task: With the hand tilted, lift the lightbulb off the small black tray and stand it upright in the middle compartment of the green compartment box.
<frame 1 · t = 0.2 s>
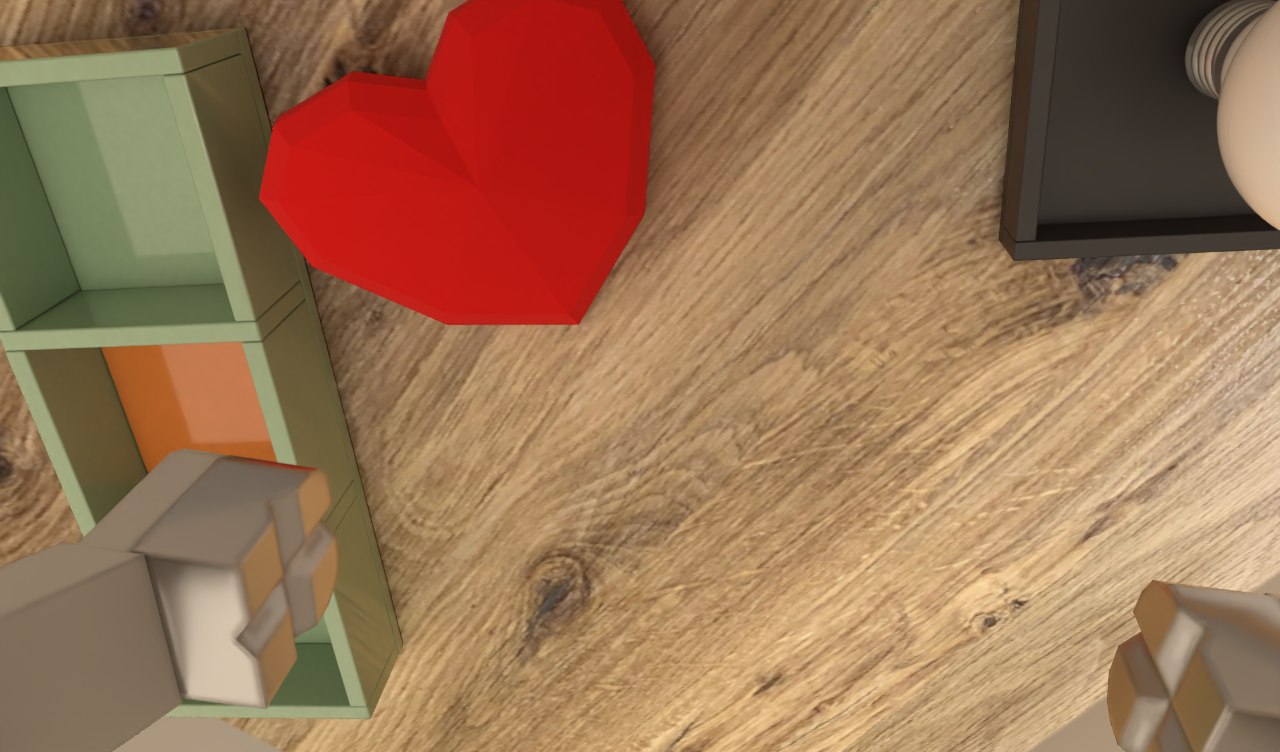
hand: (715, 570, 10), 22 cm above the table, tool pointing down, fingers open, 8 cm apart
tray: (1219, 42, 27), on the table
heart: (511, 171, 31), on the table
lightbulb: (1223, 44, 27), resting on tray
green compartment box: (224, 389, 36), on the table
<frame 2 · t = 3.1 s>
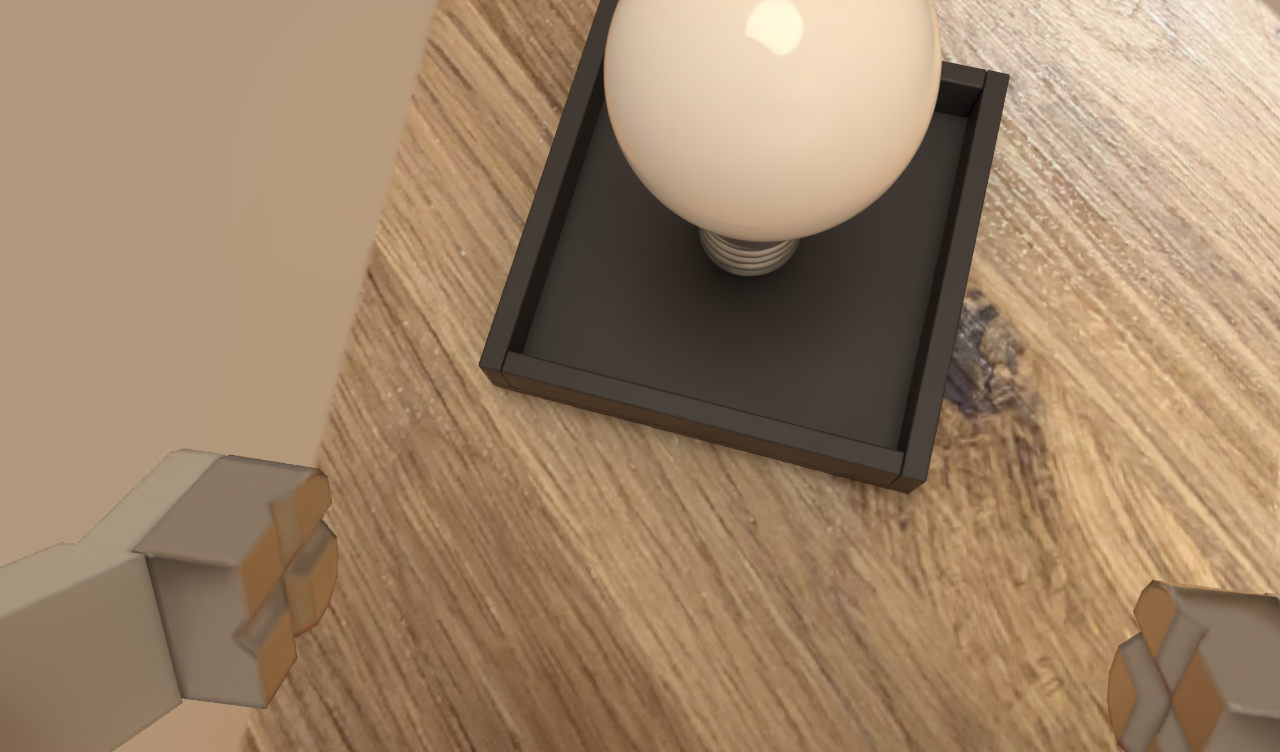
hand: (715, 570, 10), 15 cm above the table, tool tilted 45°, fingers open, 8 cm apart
tray: (747, 245, 26), on the table
lightbulb: (747, 242, 26), resting on tray
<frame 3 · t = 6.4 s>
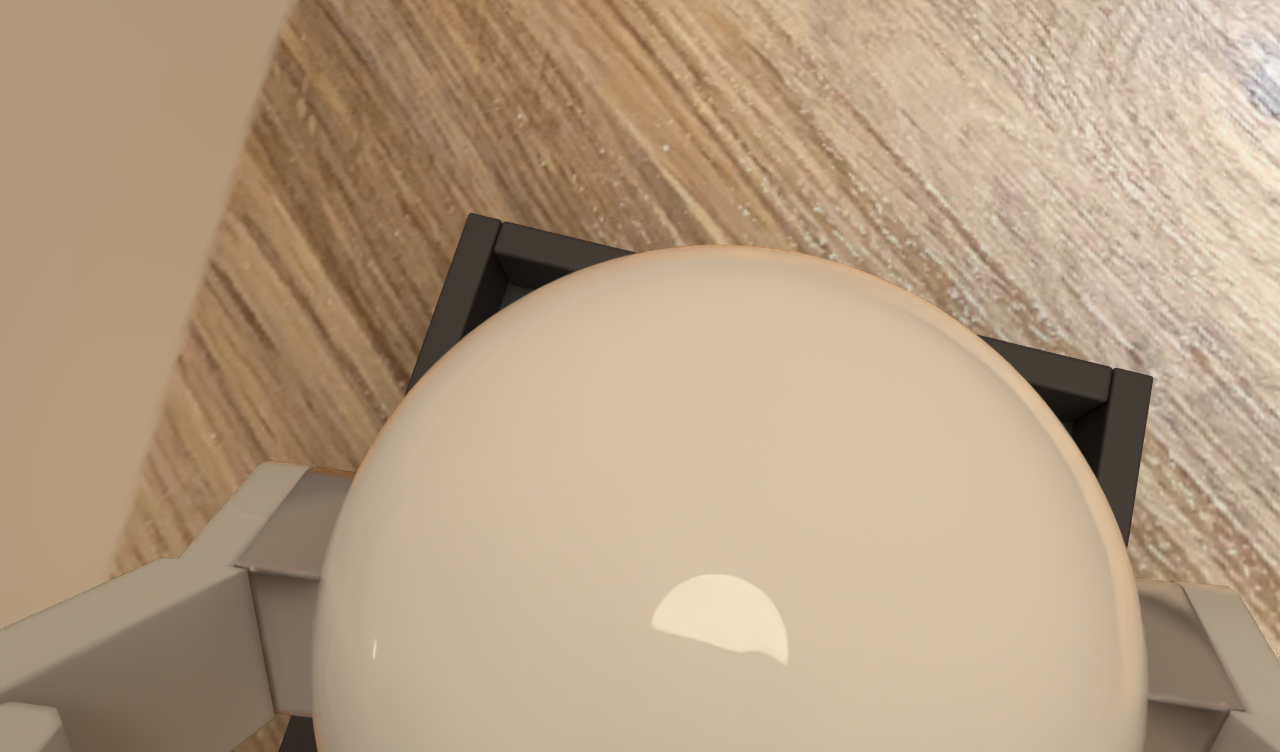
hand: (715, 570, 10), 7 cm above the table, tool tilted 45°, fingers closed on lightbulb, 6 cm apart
tray: (705, 638, 16), on the table
lightbulb: (706, 638, 16), resting on tray, touching gripper
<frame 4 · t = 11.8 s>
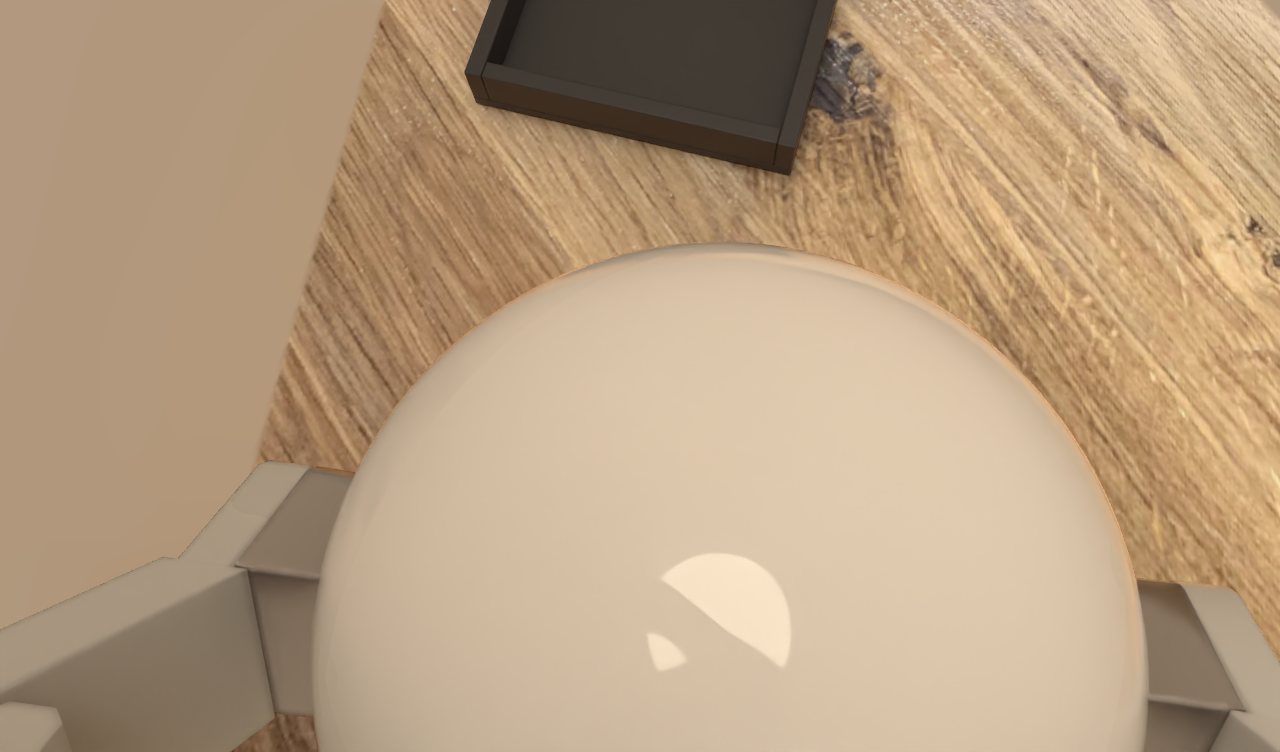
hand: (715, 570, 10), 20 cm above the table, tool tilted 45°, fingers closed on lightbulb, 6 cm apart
tray: (673, 1, 34), on the table
lightbulb: (706, 636, 16), point 13 cm above the table, touching gripper
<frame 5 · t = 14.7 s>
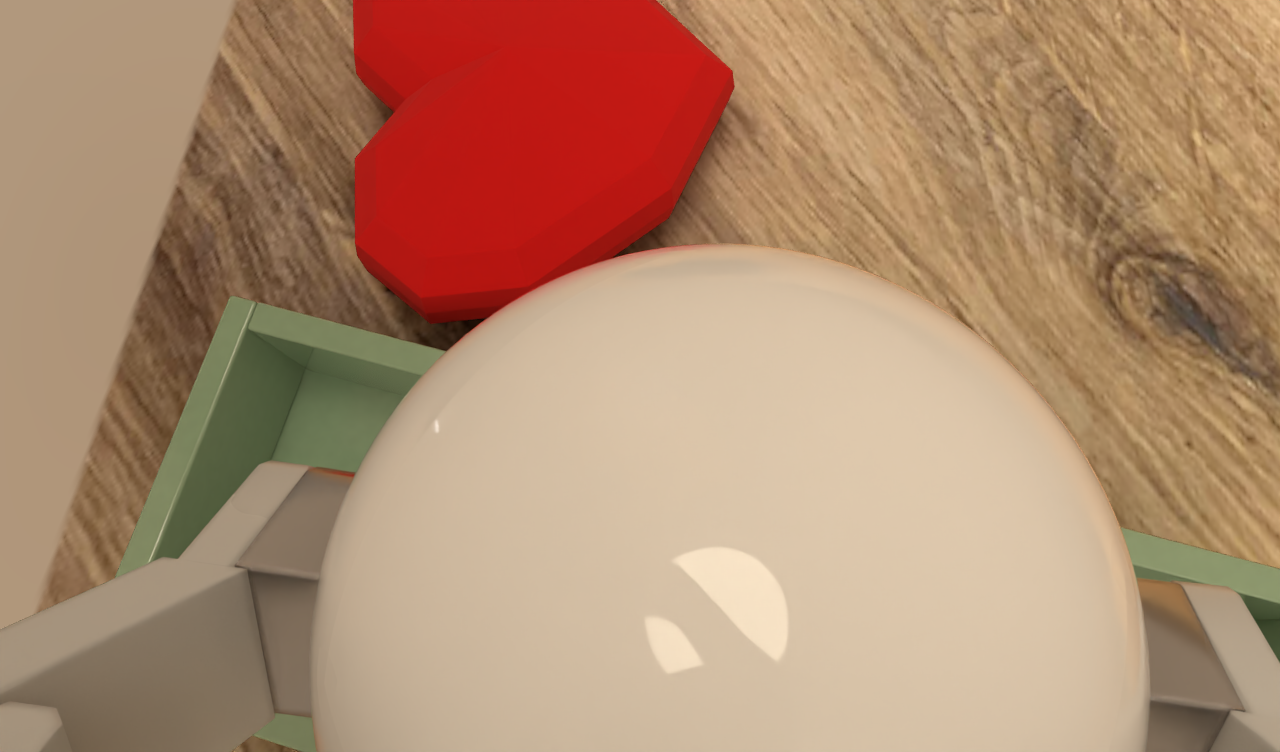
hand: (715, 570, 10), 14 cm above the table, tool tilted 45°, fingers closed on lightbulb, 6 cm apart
heart: (558, 144, 27), on the table
lightbulb: (706, 638, 16), point 8 cm above the table, touching gripper
green compartment box: (705, 637, 23), on the table
when the fingers open (7 cm above the table, at t = 17.3 s): lightbulb stays where it is, resting on green compartment box.
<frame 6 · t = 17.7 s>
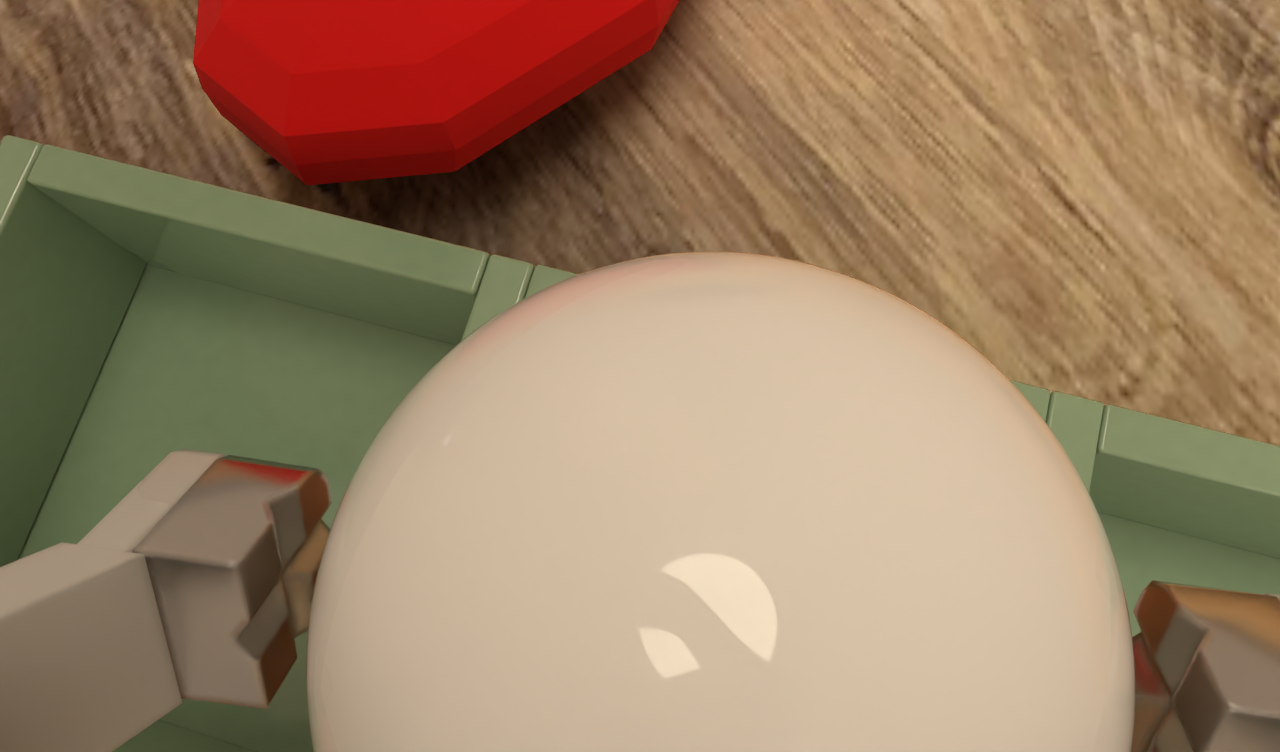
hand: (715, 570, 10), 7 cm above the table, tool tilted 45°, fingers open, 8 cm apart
lightbulb: (702, 638, 16), point 1 cm above the table, touching green compartment box
green compartment box: (703, 637, 16), on the table
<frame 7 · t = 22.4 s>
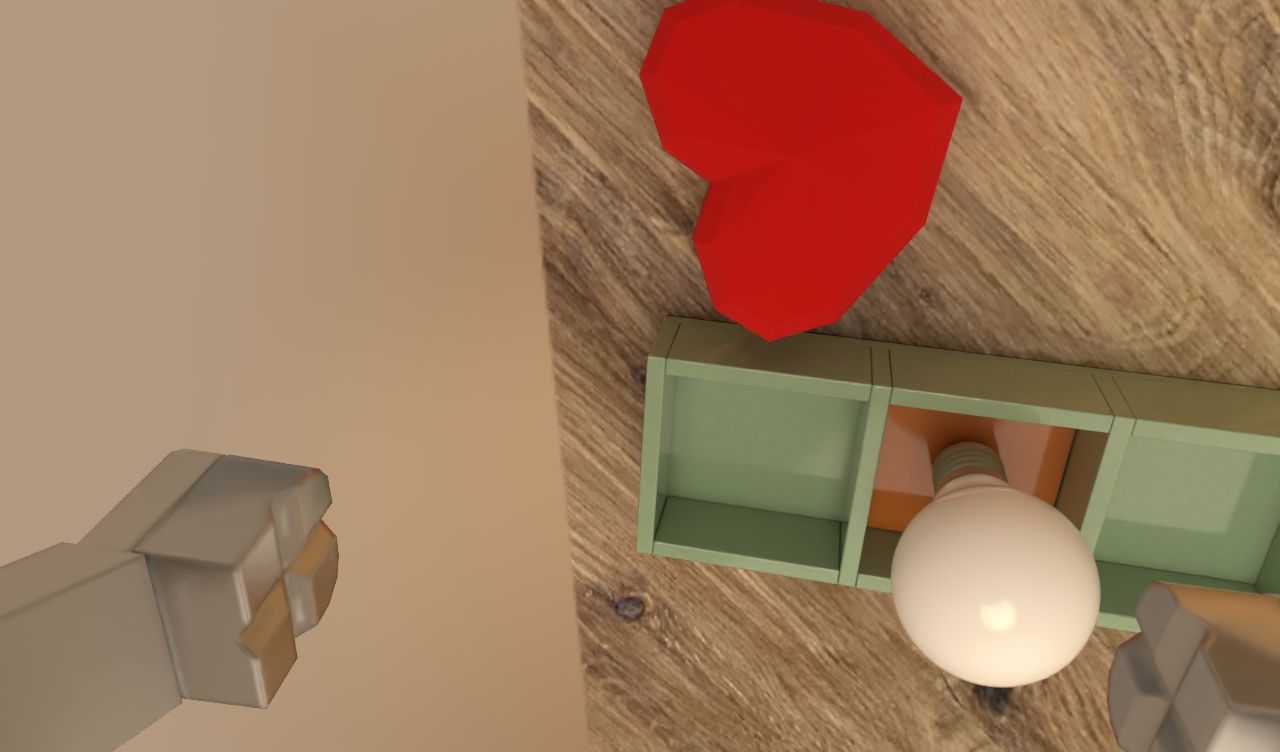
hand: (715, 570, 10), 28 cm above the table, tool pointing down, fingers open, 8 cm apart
heart: (816, 135, 35), on the table
lightbulb: (965, 461, 38), point 1 cm above the table, touching green compartment box
green compartment box: (964, 453, 39), on the table
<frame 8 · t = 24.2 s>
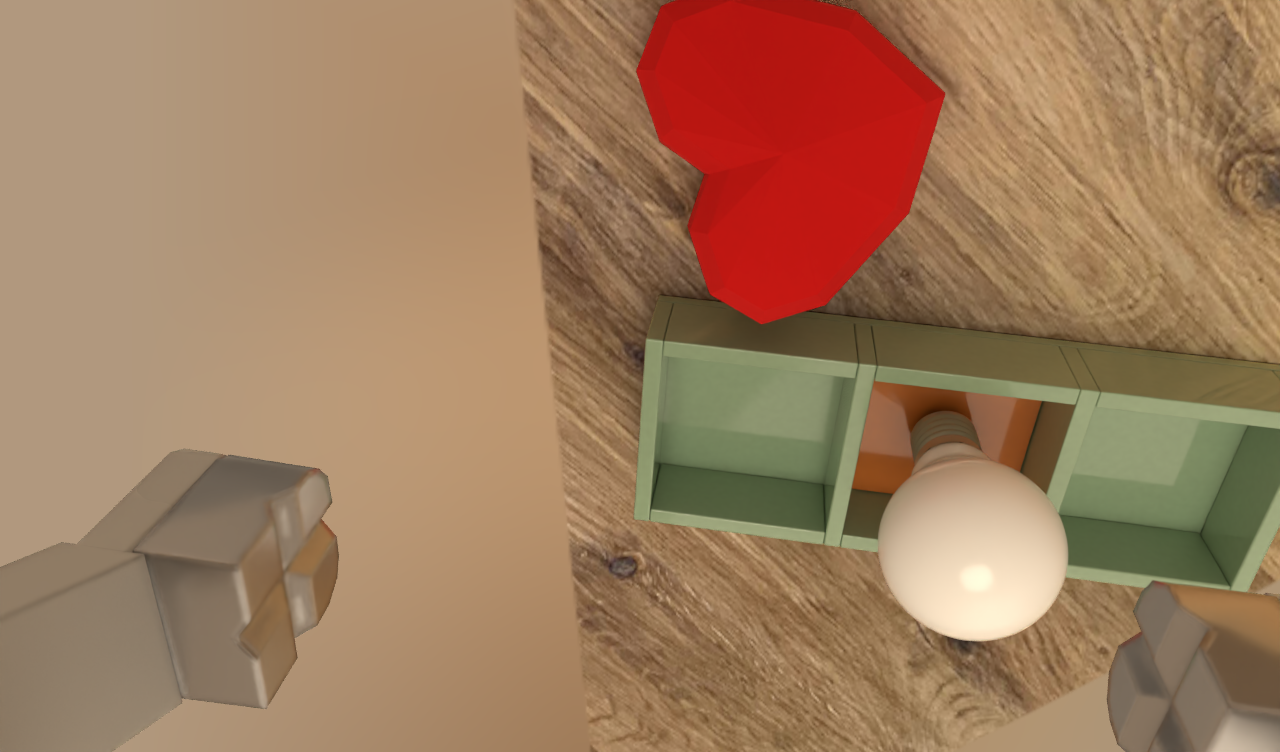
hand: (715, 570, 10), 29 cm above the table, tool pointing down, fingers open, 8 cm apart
heart: (804, 124, 36), on the table
lightbulb: (940, 427, 41), point 1 cm above the table, touching green compartment box
green compartment box: (939, 419, 41), on the table
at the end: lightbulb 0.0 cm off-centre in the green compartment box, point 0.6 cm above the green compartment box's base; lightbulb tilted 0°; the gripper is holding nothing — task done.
